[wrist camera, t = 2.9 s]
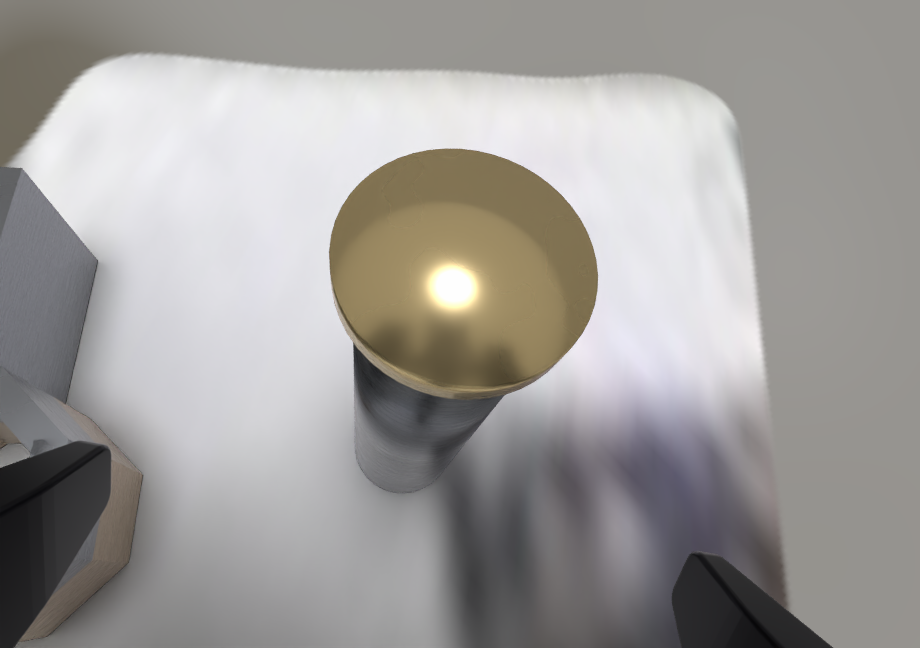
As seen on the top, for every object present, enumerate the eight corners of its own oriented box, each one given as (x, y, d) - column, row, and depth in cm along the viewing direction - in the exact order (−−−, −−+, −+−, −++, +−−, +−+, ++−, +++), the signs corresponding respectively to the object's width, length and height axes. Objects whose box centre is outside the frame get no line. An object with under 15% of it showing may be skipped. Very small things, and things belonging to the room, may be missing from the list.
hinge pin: (462, 500, 19) (617, 385, 7) (344, 505, 18) (324, 387, 7) (455, 389, 20) (578, 156, 9) (347, 390, 20) (333, 140, 8)
